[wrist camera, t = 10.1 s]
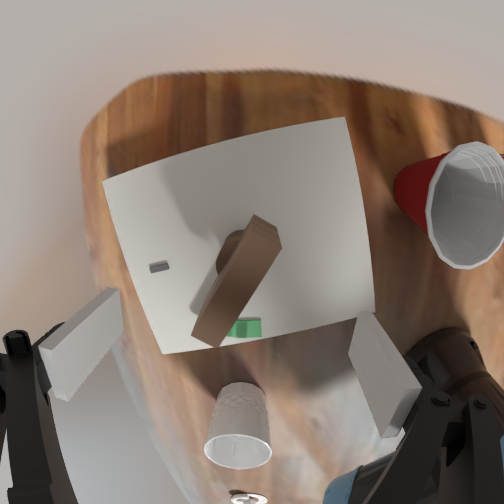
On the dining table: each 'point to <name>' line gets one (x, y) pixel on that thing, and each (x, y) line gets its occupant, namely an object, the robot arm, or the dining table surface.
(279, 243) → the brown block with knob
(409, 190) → the plastic cup
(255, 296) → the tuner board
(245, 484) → the dining table surface
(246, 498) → the teacup and saucer
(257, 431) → the white cup
